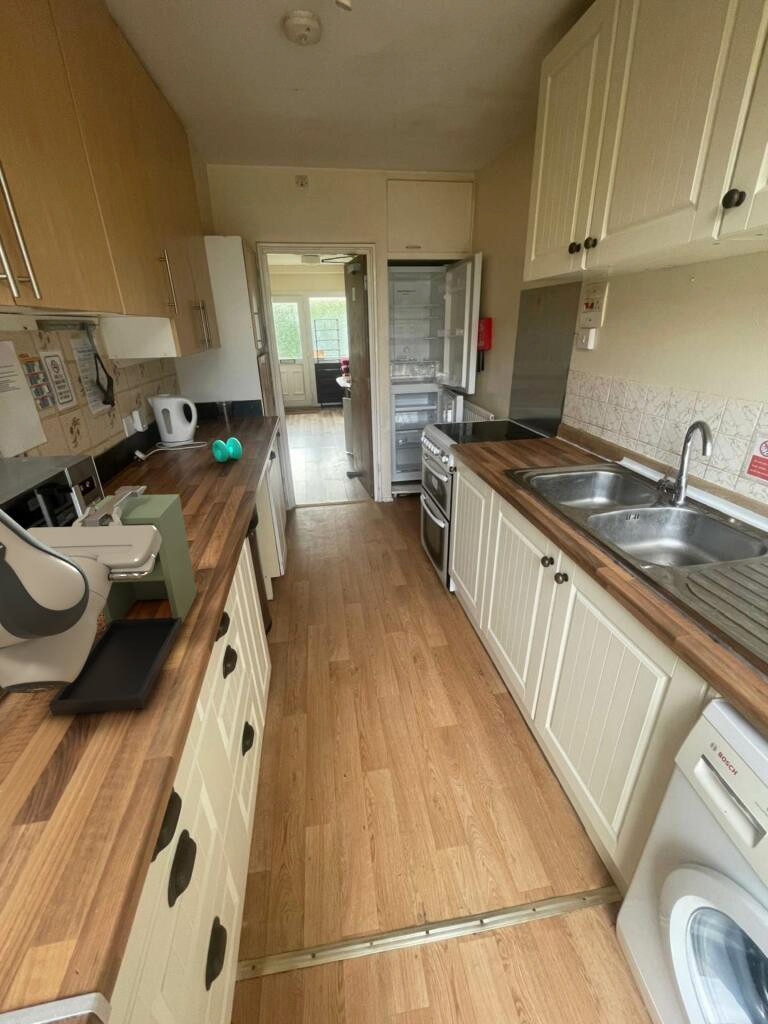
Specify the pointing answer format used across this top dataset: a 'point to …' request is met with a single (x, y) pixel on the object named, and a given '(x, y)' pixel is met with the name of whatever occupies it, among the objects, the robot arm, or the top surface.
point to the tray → (120, 667)
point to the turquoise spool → (227, 449)
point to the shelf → (170, 563)
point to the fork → (114, 504)
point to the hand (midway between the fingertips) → (105, 509)
